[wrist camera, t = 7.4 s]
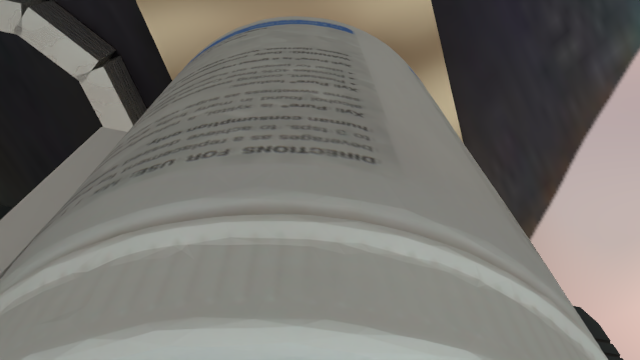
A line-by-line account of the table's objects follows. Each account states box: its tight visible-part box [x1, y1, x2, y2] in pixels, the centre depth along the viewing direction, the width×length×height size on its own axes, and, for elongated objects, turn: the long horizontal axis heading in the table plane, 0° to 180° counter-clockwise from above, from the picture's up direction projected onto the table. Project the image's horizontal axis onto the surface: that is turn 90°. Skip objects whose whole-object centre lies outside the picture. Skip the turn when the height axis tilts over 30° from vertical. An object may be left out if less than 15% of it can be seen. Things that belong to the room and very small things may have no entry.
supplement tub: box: [0, 16, 608, 360], centre depth 12 cm, size 10×10×15 cm
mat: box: [136, 0, 463, 142], centre depth 29 cm, size 14×14×1 cm
